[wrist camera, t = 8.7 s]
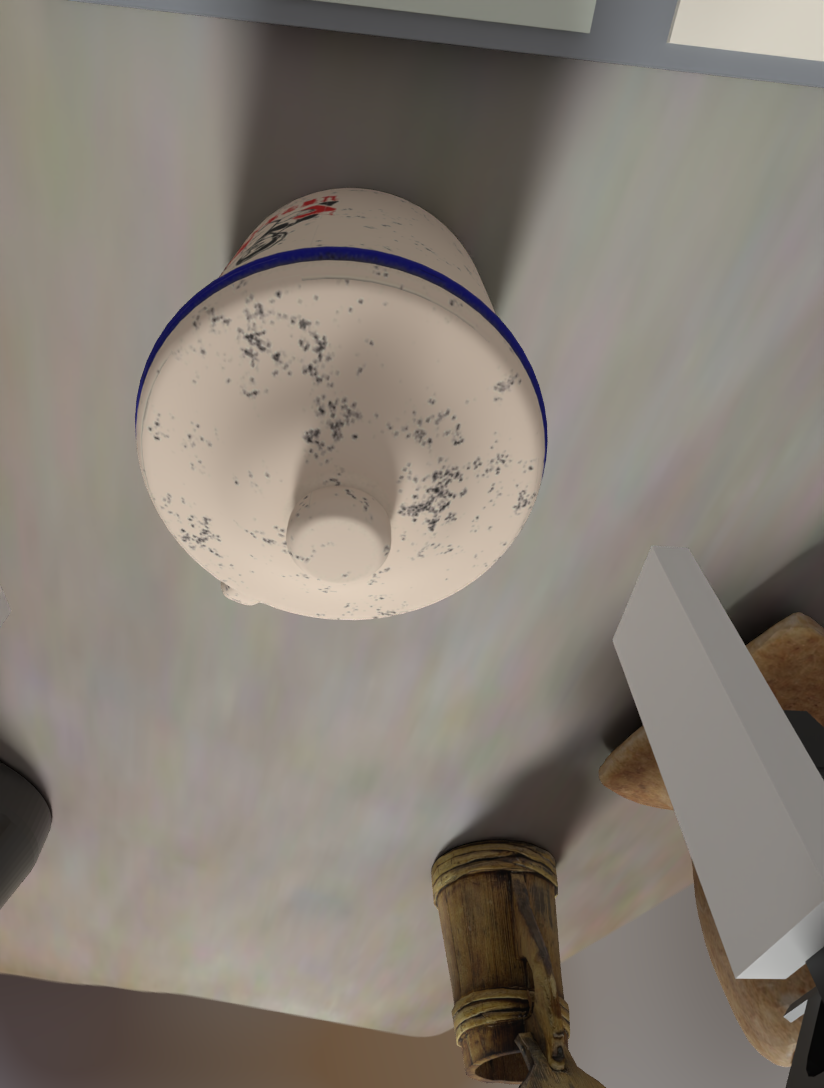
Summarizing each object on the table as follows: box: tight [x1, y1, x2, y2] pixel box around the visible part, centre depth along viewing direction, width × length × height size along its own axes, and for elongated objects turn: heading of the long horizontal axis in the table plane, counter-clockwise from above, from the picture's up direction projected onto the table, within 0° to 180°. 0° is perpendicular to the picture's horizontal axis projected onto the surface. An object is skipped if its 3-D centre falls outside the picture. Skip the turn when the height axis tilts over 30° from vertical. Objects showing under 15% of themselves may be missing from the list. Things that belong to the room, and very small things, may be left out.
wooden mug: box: [431, 840, 606, 1088], centre depth 36 cm, size 9×14×18 cm, turn 164°
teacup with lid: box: [135, 188, 547, 620], centre depth 17 cm, size 12×9×12 cm
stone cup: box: [599, 612, 824, 1067], centre depth 29 cm, size 15×12×15 cm
